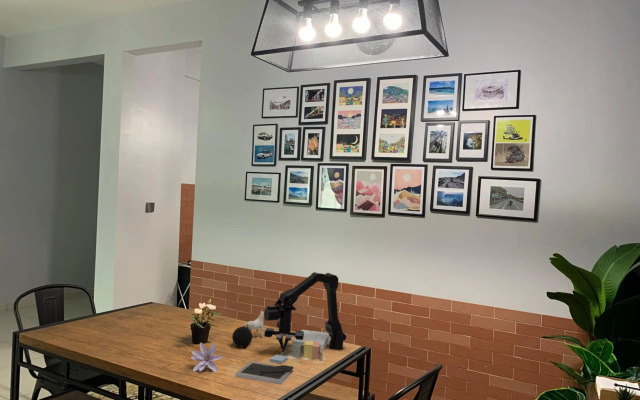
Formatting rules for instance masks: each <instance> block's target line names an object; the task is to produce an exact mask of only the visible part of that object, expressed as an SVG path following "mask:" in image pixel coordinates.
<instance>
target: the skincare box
mask: <svg viewBox="0 0 640 400" xmlns="http://www.w3.org/2000/svg"><path fill="white" fill-rule="evenodd" d="M300 331H303V332H304V338H303V340H299V339H296V338H295V337H294V338H293V339H292V340H291V341H292V343H291V344H295V343H301V345H304V344H305V341H313V342H320V343H319V346H323V352H324V351H325V349H326V348H327V346H328V345H330V340H331V337H330V336H329V333H328V332H324V331H323V332H322V331H315V330H306V329H301V330H300Z"/></svg>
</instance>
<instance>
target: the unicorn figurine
mask: <svg viewBox="0 0 640 400" xmlns="http://www.w3.org/2000/svg"><path fill="white" fill-rule="evenodd" d="M264 312H265V311H263V310H262V308H261V309H260V314H259V316H257V318H256V319H254V320H250V321H247V322H246V321H245V322H243V324H242V327H247V328H248V329H250V331H251V332H252V330H255V333H254V335H253V337H254V338H258V337H260V339H262V338H263V337H264V333H265V330H266V329H265V328H264ZM259 329H261V330H262V332H260V336H258V330H259Z"/></svg>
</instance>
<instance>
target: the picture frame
mask: <svg viewBox="0 0 640 400" xmlns="http://www.w3.org/2000/svg"><path fill="white" fill-rule="evenodd" d="M294 369H295V368H294V366H292V365H286V364H280V365H275V364H269V363H262V362H258V361H249V362H248V363H247V364H245V365H244V366H243V367H242V368H241V369H239V370H238V371H236V373H235V375H234V376H235V378H242V379H247V380H252V381H253V380H254V381H257V382H259V381H260V382H265V383H270V384H276V385H283V383H284V382H285V381H286V380H287V379H288V378H289V377H290V376H291V375H292V373H294Z"/></svg>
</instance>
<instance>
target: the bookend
mask: <svg viewBox="0 0 640 400" xmlns="http://www.w3.org/2000/svg"><path fill="white" fill-rule="evenodd" d="M300 355H301V343H295V346H294V358H300Z"/></svg>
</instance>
